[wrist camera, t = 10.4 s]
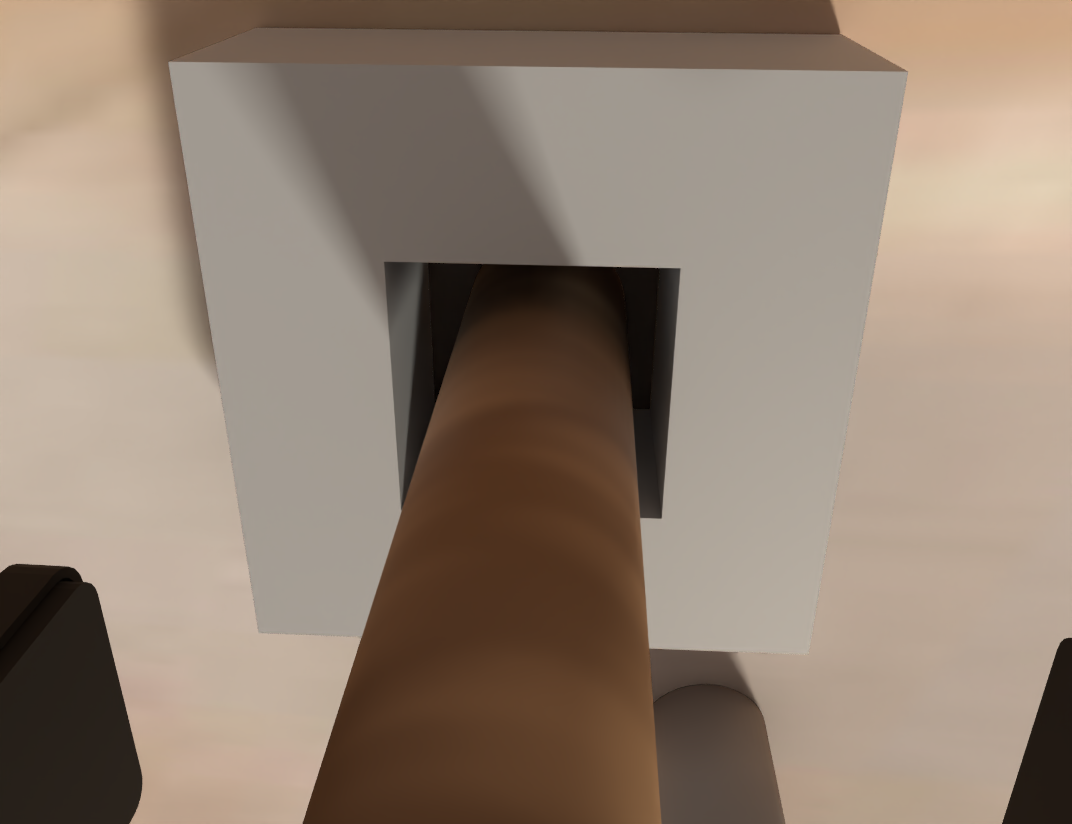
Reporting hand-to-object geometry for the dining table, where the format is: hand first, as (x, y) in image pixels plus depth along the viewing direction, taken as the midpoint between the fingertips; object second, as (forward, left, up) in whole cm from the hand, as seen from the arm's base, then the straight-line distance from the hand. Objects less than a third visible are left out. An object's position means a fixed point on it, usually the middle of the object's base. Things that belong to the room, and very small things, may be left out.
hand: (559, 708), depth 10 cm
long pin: (+1, 0, -11) cm, 11 cm away
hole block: (+1, 0, -11) cm, 11 cm away
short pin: (-3, +11, -11) cm, 16 cm away
